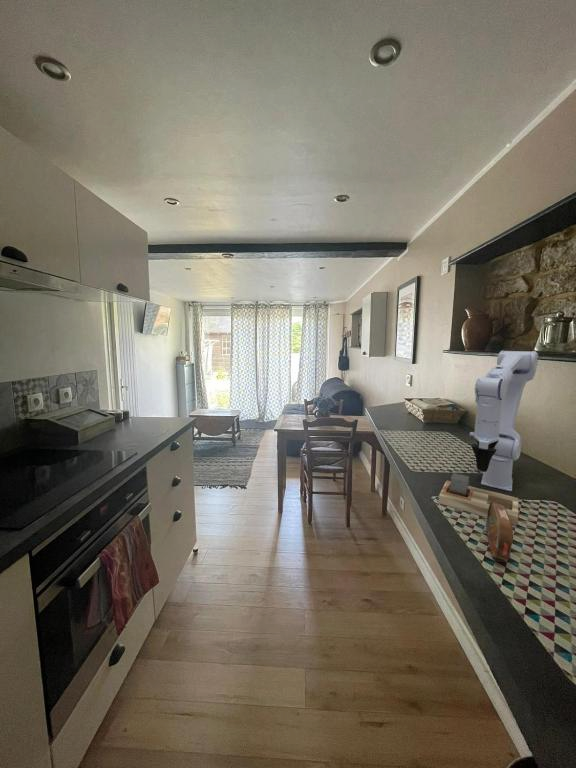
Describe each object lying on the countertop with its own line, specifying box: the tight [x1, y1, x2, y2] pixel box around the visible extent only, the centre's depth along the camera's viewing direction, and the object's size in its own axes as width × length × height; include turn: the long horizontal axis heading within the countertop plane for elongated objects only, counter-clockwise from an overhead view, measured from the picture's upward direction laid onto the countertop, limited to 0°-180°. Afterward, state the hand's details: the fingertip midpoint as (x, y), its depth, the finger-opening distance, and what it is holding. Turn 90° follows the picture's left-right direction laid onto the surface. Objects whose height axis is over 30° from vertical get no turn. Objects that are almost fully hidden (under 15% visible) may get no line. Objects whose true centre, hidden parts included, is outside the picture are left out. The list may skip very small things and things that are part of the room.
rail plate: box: [438, 480, 519, 527], centre depth 85 cm, size 11×18×3 cm, turn 52°
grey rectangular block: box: [450, 472, 470, 497], centre depth 88 cm, size 4×4×7 cm
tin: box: [486, 502, 514, 561], centre depth 68 cm, size 15×3×8 cm, turn 153°
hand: (483, 466), depth 86 cm, fingers open, 7 cm apart
